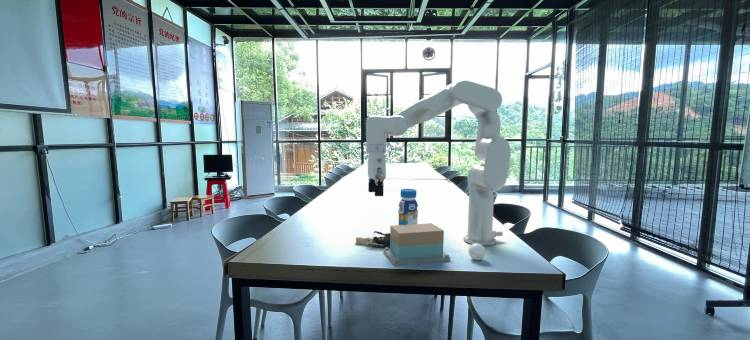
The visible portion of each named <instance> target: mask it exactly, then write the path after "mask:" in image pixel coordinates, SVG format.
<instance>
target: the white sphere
mask: <svg viewBox="0 0 750 340" xmlns="http://www.w3.org/2000/svg"><path fill="white" fill-rule="evenodd" d="M486 254H487V252H486V249H485V246H482V245H481V244H478V243H475V244H470V246H469V247H468V255H469V256H470V258H471V259H473V260H475V261H481V260H483V259H484V258H485V256H486ZM488 254H491V253H490V252H489V253H488Z"/></svg>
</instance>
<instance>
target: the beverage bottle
mask: <svg viewBox="0 0 750 340" xmlns="http://www.w3.org/2000/svg"><path fill="white" fill-rule="evenodd" d="M400 198H401V199H400V201H399V203H398V211H397V213H398V225H412V224H418V214H419V210H418V207H419V205H418V204H419V203H418V201H417V200H416V198H417V189H415V188H402V189H400Z"/></svg>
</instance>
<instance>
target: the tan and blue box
mask: <svg viewBox="0 0 750 340" xmlns="http://www.w3.org/2000/svg"><path fill="white" fill-rule="evenodd" d="M389 233H390V247H384V248H383V254H384V255H385V256H386V257H387V258H388V260H389V261H390V262H391V263H392V265H393V266H395V267H396V266H405V265H416V264H417V265H418V264H426V263H428V264H429V263H439V262H440V263H441V262H450V261H451V256H450V254H448V253H446V252H444V237H445V235H444V234H445V231H444V230H443V228H441V227H438V225H435V224H433V223H417V224H412V225H399V224H398V225H396V224H395V225H390V228H389Z"/></svg>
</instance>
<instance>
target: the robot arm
mask: <svg viewBox="0 0 750 340" xmlns="http://www.w3.org/2000/svg"><path fill="white" fill-rule="evenodd" d="M502 103H503V96H502V94H501V93H500V92H499V90H498V89H495V88H493V87H491V86H487V85H483V84H480V83H477V82H475V81H474V82H473V81H470V80H468V79H460V80H457V81H455V82H453V83H450V84H448V85H446V86H445V87H442V88H441V89H438V90H436V91H435V92H433V93H431V94H430V95H428V96H426V97H424V98H422V99H420V100H419V101H417V102H415V103H414V104H413V105H410V106H408V107H407V108H405V109H404V110H401V111H399V112H398V113H396V114H394V115H391V116H383V115H382V116H381V115H369V116H368V117H367V118H366V126H365V128H366V131H365V132H366V133H365V134H366V135H365V136H366V137H365V139H366V141H365V144H366V145H365V147H366V148H365V153H366V154H368V157H367V176H368V186H367V187H368V188H367V189H368V192H369V193H374V197H383V196H384V185H385V182H384V180H386V178H387V166H386V165H387V164H386V163H387V162H386V154H387V135H388V136H390V137H399V136H403V135H404V134H406V133H407V131H408V129H410V128H412V127H415V126H416V125H417V126H418V125H419V124H423V123H425V122H426V123H427V122H428V121H430V120H433V119H435V118H437V117H439V116H440V115H442V114H444V113H446V112H448V111H450V110H451V109H453V108H455V107H457V106H458V105H462V104H465V105H467V107H468V109H469V112H471V113H472V114H473V115H474V116H475V119H476V121H477V133H476V138H475V139H476V140H475V146H474V155H475V157H476V158H477V159H479V160H481V161H484V163H477V164H475V165H473V166H472V167H470V169H469V170H468V172H467V186H468V215H467V234H465V235H464V236H463V241H464V242H465V243H467V244H470V245H472V244H475V243H478V244H481V245H482V246H483V247H485V246H486V247H488V246H493V245H495V244H497V239H496V237H503V235H504V234H503V232H502V231H496V230H494V229H493V227H494V226H493V223H494V204H495V203H494V201H495V200H494V192H496V191H500V190H501V189H502V188H503V187H504V186H505V184H506V183H507V179H508V175H509V168H510V161H511V155H512V154H511V153H512V150H511V145H510V143H509V142H508V140H507V139H505V138H504V137H502V136H500V135H501V124H502V123H501V118H500V116H499V113H498V111H497V110H498V109H499V108H500V107H501V105H502Z"/></svg>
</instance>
